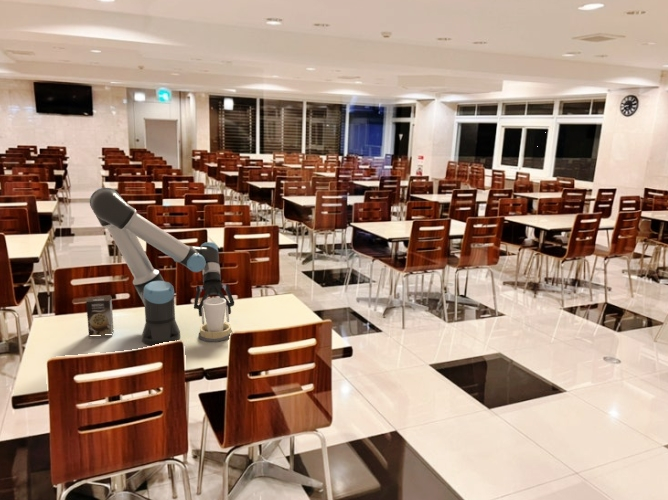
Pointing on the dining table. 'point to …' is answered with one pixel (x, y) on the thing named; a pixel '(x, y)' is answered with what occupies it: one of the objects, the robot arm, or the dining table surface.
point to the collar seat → (215, 333)
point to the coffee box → (100, 316)
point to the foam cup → (214, 313)
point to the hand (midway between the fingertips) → (215, 321)
